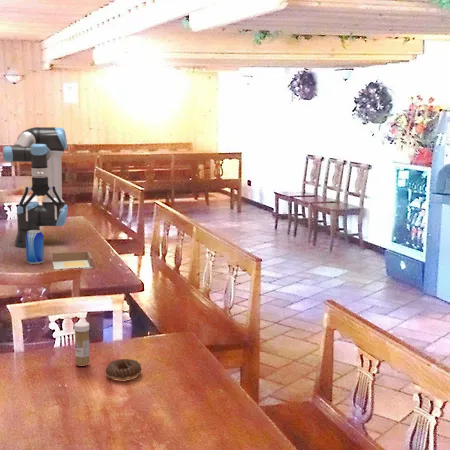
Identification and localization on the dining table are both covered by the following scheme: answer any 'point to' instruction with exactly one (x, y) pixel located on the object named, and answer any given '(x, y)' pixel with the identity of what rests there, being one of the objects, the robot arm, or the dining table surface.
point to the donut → (123, 369)
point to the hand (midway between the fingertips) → (41, 219)
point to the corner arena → (72, 260)
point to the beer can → (35, 247)
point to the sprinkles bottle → (81, 343)
